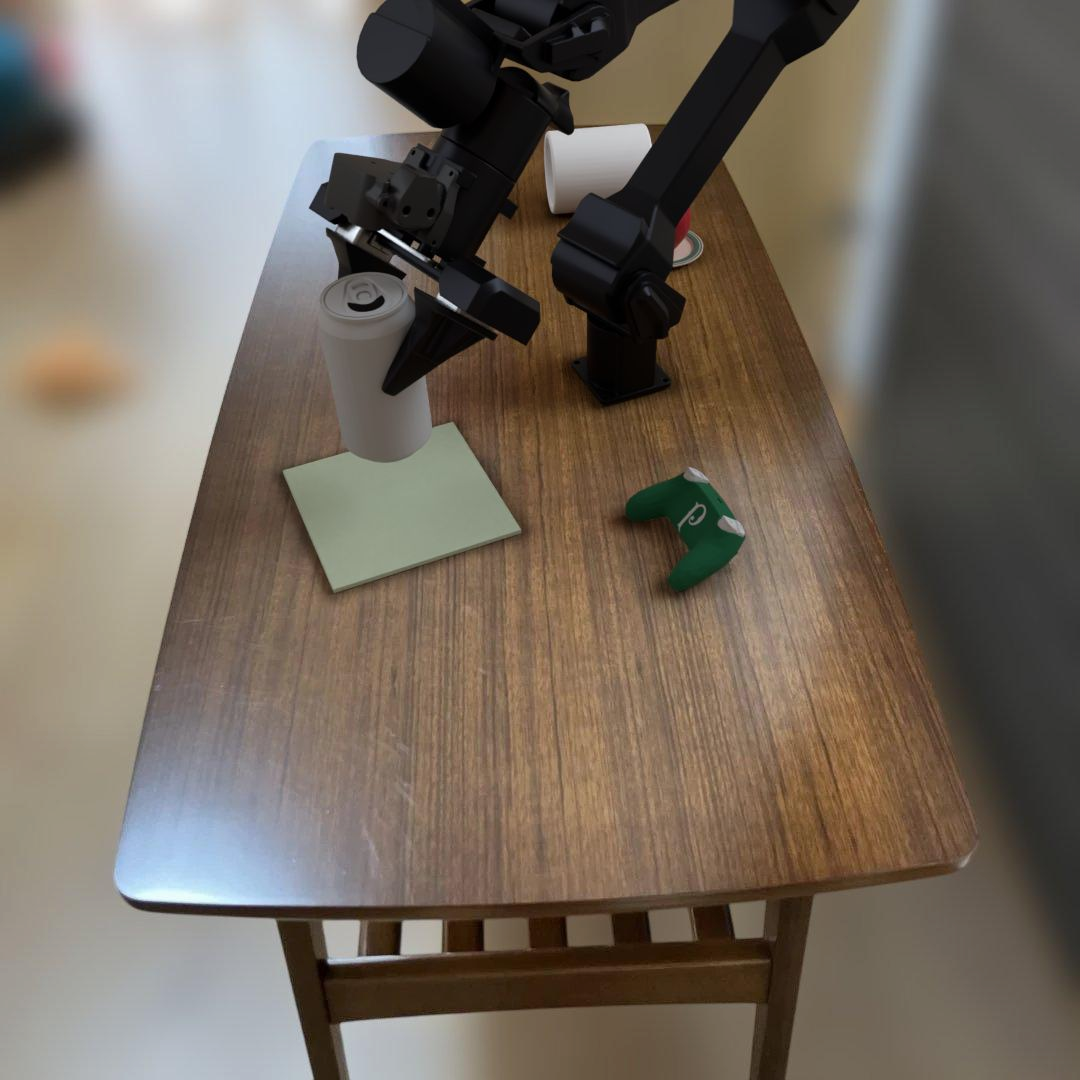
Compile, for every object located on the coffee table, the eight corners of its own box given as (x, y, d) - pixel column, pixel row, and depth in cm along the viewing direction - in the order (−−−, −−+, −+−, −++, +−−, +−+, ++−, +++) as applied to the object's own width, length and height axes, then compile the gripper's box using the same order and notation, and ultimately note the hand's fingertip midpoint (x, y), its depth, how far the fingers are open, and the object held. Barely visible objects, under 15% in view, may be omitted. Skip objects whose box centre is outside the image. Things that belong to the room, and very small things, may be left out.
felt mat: (521, 533, 81) (521, 529, 80) (333, 593, 77) (333, 589, 77) (453, 425, 90) (453, 421, 90) (283, 474, 86) (282, 470, 86)
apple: (709, 269, 106) (714, 205, 102) (625, 274, 106) (627, 210, 101) (695, 228, 112) (700, 166, 107) (615, 232, 112) (617, 170, 107)
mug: (652, 219, 113) (655, 143, 108) (554, 228, 113) (553, 152, 107) (630, 167, 122) (632, 94, 117) (540, 175, 121) (537, 102, 116)
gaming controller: (702, 608, 77) (764, 548, 75) (668, 591, 75) (732, 529, 73) (648, 523, 84) (704, 467, 82) (615, 505, 81) (672, 446, 79)
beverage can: (354, 478, 77) (324, 330, 68) (335, 424, 81) (304, 279, 73) (444, 455, 78) (424, 308, 70) (419, 404, 83) (399, 259, 74)
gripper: (308, 55, 71) (194, 274, 73) (491, 150, 60) (350, 401, 63) (423, 137, 79) (318, 329, 82) (600, 232, 69) (472, 448, 72)
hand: (359, 371), depth 75 cm, fingers closed on beverage can, 6 cm apart
